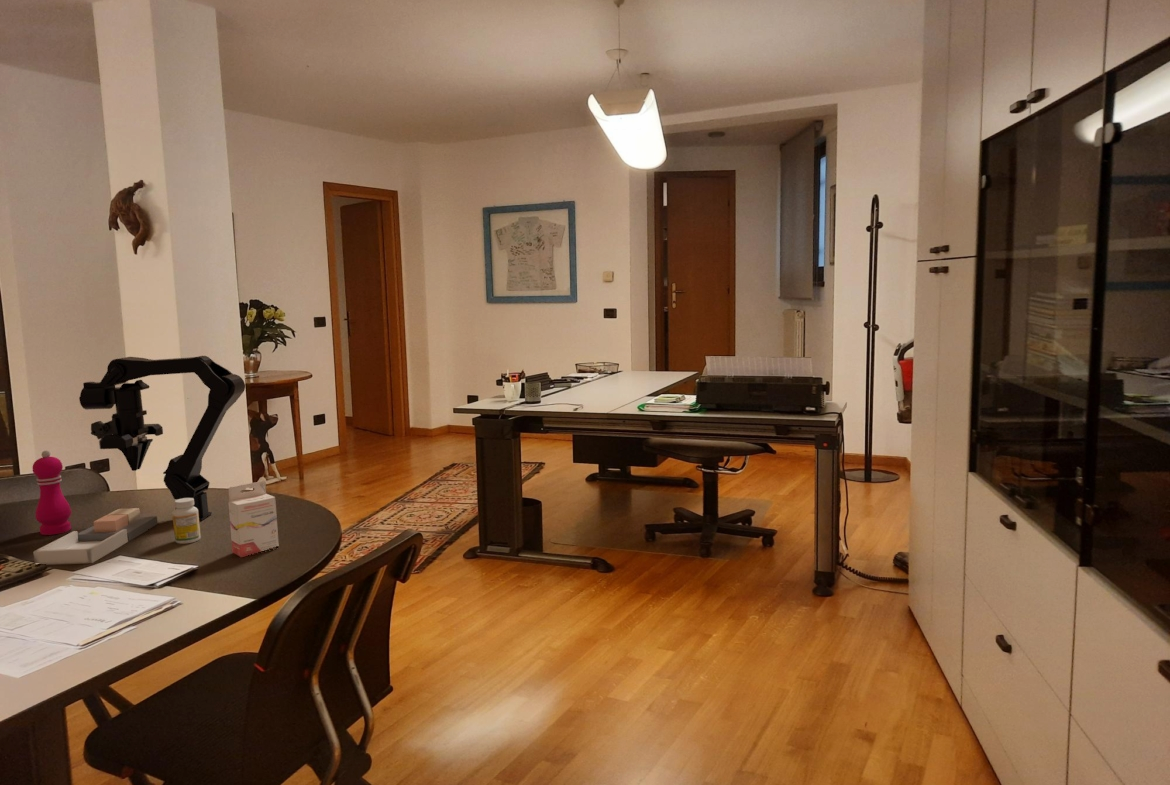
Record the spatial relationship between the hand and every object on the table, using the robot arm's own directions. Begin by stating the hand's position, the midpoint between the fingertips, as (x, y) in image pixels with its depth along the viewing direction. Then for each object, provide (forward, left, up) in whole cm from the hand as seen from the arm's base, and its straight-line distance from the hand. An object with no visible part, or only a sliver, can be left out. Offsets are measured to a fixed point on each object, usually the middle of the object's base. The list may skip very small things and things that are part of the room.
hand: (136, 469), depth 199 cm
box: (0, +24, -13) cm, 28 cm away
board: (0, +10, -13) cm, 17 cm away
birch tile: (0, +7, -11) cm, 13 cm away
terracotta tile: (0, +13, -11) cm, 17 cm away
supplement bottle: (-20, +18, -13) cm, 30 cm away
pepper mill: (+17, +7, -13) cm, 23 cm away
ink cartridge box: (-39, +27, -13) cm, 49 cm away
